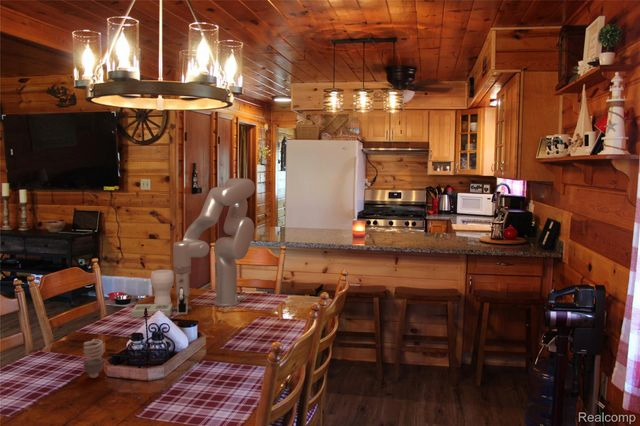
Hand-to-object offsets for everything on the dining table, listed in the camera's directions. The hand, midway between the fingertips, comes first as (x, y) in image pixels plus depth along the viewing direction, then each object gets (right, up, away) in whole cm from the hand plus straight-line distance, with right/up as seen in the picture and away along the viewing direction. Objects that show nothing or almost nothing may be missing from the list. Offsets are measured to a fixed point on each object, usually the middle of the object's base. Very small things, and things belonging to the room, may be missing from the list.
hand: (182, 310), depth 230 cm
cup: (-14, 0, +18) cm, 23 cm away
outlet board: (-13, -1, 0) cm, 13 cm away
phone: (-2, -1, +6) cm, 7 cm away
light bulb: (-8, -7, -72) cm, 73 cm away
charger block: (0, -1, 0) cm, 1 cm away
